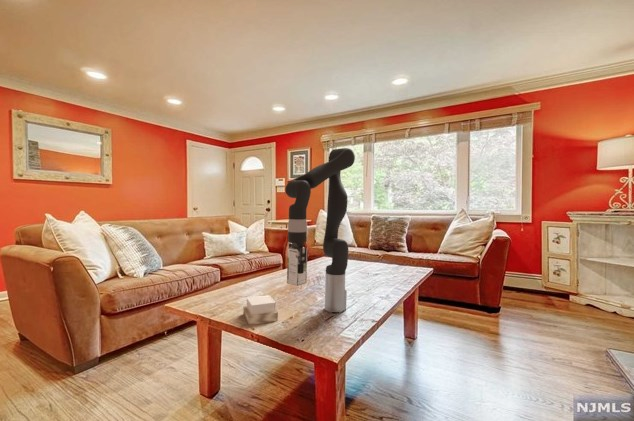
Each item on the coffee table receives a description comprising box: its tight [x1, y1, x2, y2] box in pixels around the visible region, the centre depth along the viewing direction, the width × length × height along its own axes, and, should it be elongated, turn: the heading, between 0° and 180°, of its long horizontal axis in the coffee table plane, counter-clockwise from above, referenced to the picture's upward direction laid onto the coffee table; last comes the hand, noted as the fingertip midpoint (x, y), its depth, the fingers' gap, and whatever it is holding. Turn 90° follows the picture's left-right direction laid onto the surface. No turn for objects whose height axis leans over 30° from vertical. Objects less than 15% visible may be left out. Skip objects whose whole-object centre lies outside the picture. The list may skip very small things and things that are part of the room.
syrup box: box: [286, 246, 308, 287], centre depth 114 cm, size 6×6×14 cm
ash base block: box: [242, 305, 279, 326], centre depth 121 cm, size 12×12×4 cm
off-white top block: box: [246, 294, 277, 315], centre depth 121 cm, size 10×10×4 cm
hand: (296, 271), depth 114 cm, fingers closed on syrup box, 7 cm apart
